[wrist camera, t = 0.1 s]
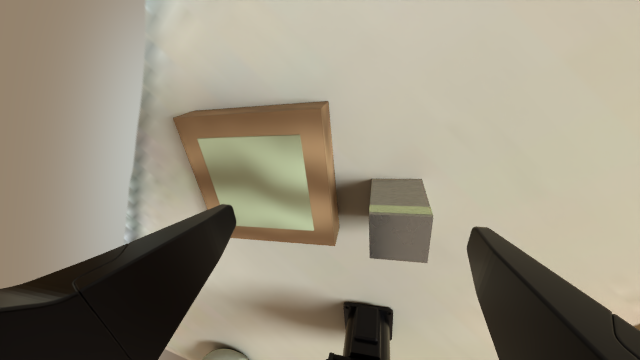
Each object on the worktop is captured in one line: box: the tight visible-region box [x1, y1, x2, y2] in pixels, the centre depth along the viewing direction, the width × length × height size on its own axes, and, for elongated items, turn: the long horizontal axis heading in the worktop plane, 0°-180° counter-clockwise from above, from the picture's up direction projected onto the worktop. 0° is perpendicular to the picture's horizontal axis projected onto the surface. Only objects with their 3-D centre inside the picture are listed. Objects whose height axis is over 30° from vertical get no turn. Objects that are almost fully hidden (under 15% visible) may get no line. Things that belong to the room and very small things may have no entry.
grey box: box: [369, 179, 433, 263], centre depth 22 cm, size 5×5×6 cm
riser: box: [173, 101, 339, 246], centre depth 25 cm, size 14×14×3 cm
